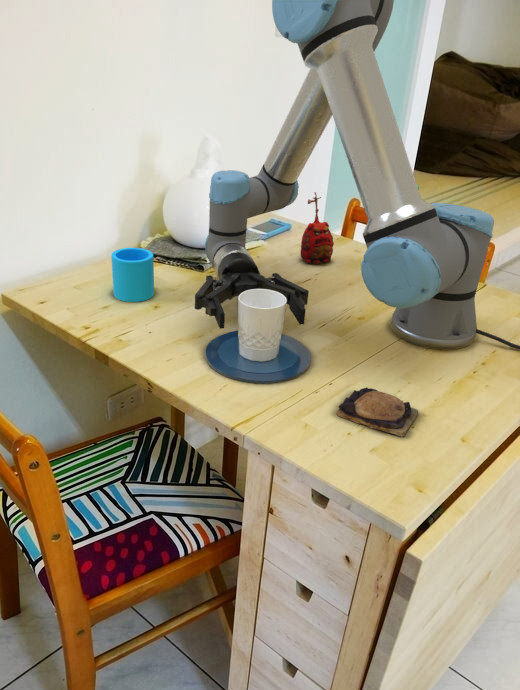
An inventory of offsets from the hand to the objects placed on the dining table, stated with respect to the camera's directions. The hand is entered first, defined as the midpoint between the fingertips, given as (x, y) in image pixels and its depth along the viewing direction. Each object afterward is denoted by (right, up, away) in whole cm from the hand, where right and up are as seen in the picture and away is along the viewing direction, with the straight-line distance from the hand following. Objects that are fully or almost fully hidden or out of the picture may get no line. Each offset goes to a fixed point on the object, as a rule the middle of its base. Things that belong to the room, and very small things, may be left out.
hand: (263, 319), depth 106 cm
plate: (-1, -6, +5) cm, 7 cm away
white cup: (-1, -5, +4) cm, 7 cm away
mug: (-25, +9, +26) cm, 38 cm away
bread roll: (+16, -16, -9) cm, 24 cm away
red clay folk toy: (+15, +19, +45) cm, 51 cm away
